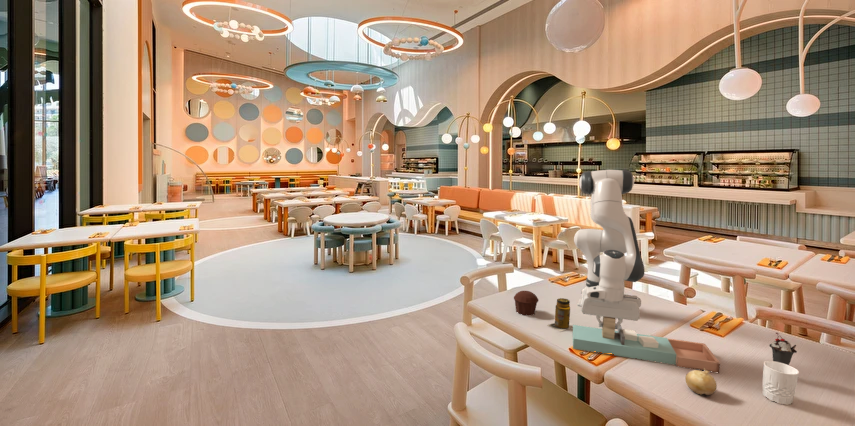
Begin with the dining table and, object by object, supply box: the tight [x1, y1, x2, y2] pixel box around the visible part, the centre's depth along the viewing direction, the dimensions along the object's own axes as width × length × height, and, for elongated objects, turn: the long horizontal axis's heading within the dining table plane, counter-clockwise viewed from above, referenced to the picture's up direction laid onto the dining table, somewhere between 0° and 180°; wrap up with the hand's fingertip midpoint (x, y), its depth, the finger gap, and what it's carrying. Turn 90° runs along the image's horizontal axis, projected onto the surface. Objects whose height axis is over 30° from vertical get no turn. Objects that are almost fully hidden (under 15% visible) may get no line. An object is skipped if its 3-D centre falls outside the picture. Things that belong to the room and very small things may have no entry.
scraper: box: [601, 316, 625, 345], centre depth 149 cm, size 12×7×8 cm, turn 160°
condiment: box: [547, 297, 573, 332], centre depth 168 cm, size 7×8×12 cm
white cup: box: [761, 360, 800, 405], centre depth 117 cm, size 8×8×10 cm
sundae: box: [768, 332, 798, 366], centre depth 129 cm, size 7×7×15 cm
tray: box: [666, 337, 721, 374], centre depth 141 cm, size 16×12×4 cm
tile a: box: [622, 328, 638, 341], centre depth 149 cm, size 5×5×2 cm
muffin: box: [513, 290, 539, 316], centre depth 185 cm, size 12×11×10 cm
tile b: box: [638, 336, 659, 348], centre depth 144 cm, size 5×5×2 cm
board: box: [572, 324, 677, 366], centre depth 149 cm, size 14×34×4 cm, turn 70°
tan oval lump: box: [685, 368, 717, 396], centre depth 120 cm, size 8×8×7 cm
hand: (608, 327), depth 150 cm, fingers closed on scraper, 4 cm apart
